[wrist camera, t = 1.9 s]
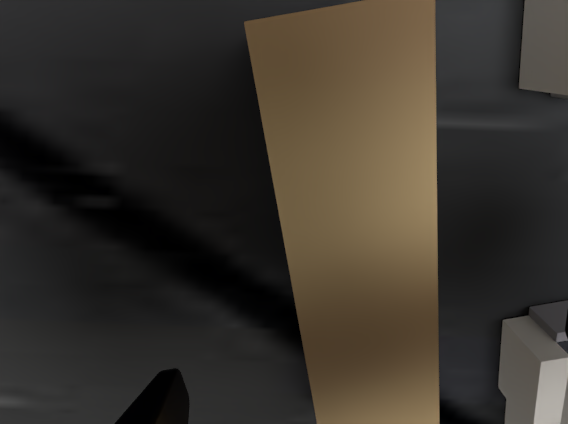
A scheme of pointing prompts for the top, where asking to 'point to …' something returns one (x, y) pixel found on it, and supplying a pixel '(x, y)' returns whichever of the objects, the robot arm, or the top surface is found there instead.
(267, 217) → the top surface
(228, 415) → the top surface
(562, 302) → the stepped white cradle
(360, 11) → the rail
